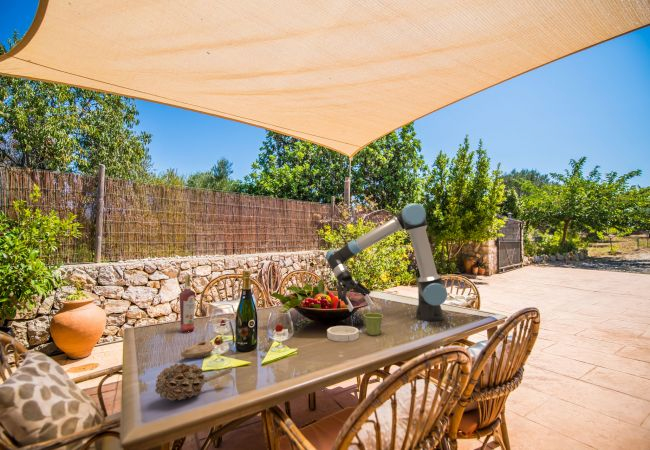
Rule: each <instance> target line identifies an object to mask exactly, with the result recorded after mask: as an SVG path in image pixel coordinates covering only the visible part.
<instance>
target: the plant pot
mask: <svg viewBox="0 0 650 450" xmlns="http://www.w3.org/2000/svg"><path fill="white" fill-rule="evenodd" d="M363 318H364V320H365V328H366V334H367V335H369V336H378V335H380V334H381V327H382V321H383V318H384V315H383V314H381V313H378V312H377V313H376V312H367V313H364V314H363Z"/></svg>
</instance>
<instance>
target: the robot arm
mask: <svg viewBox="0 0 650 450" xmlns="http://www.w3.org/2000/svg"><path fill="white" fill-rule="evenodd" d="M426 217H427V212H426V209H425V208H424V206H423V205H421V204H419V203H415V202H414V203H412V202H411V203H408V204H406V205H405V206H404V207H403V209H401V211H399V212H398V213H396V214H395V215H393V218H391V219H390V220H387V221H386V222H384V223H383V224H381V225H379V226H377V227H375V228H374V229H372V230H371V231H368V232H366V233H365V234H363V235H362V236H360V237H358V238H357V239H355V240H354V239H353V240H351V241H349V242H347V244H345V245H344V246H343V247H341V248H340V249H338V250H336V249H331V250H329V251H328V252H326V254H325V260H326V262H327V264H328V265H329V267H330V269H331V270H332V272H333V274H334V276H335V277H336V280H337V283H336V285H335V286H336V288H337V299H338V300H339V301H341V302H343V303H344V305H345V306H346V307H347V308H348V311H349V312H352V311H353V310H354V306H353V305H352V303H351V301H350V299H349V297H348V296H347V293H348V291H351V290H352V291H355V292H357V293H359V294H360V295H362V296H363V298H364V300H365V301H366V303H367V305H368V306H369V308H370V309H372V307H374V305H375V304H374V302H373V300H372V297H371V296H370V294H371V291H370V290H369V289H368V288H367V287H366V286H365V285H363V284H362V283H361V282H360V281H359V279H356V280H354V279H353V275H352V274H351V272H350V270H349V268H348V267H347V266H346V264H345V263H346V262H347V261H349V260H350V259H353V258H354V257H355V256H356V255H358V254H360V253H361V252H363V251H365V250H367V249H369V248H370V247H371V246H373V245H375V244H378V243H379V242H380V241H382V240H384V239H386V238H388V237H390V236H391V235H393V234H394V233H397V232H398V231H403V230H405V231H406V232H407V233H408V234H409V238H410V241H411V245H412V249H413V252H414V256H415V260H416V263H417V267H418V271H419V277H418V278H417V288H418V289H417V290H418V291H417V293H418V294H417V297H418V304H417V307H416V311H415V318H416V319H418V320H421V321H426V322H427V321H428V322H439V321H443V320H444V317H445V316H444V315H445V314H444V313H443V310H442V306H441V305H442V304H444V302H445V301H446V300H447V298H448V291H447V289H446V287H445V286H444V283H443V282H444V281H443V278H442V276H441V275H440V274H438V271H437V268H436V265H435V264H436V263H435V260H434V256H433V252H432V248H431V244H430V241H429V237H428V233H427V231H426V230H427V228H428V222H427V218H426Z"/></svg>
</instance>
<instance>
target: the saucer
mask: <svg viewBox="0 0 650 450" xmlns="http://www.w3.org/2000/svg"><path fill="white" fill-rule="evenodd" d="M326 336H327V339H328V340H330V341H333V342H339V343H341V342H342V343H347V342H354V341H356V340H358V339H359V337H360V330H359V329H358V328H357V327H354V326H351V325H336V326H331V327H330V326H329V328H327V329H326Z"/></svg>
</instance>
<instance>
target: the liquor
mask: <svg viewBox="0 0 650 450" xmlns="http://www.w3.org/2000/svg"><path fill="white" fill-rule="evenodd" d="M195 304H196V292H195V291H194V290H192V289H191V274H184V290H182V291H181V292H180V293H179V313H180V314H179V317H180V327H179V330H180V331H181V333H183V332H188V331H191V332H193V331H194V329H195V309H196V308H195ZM188 333H189V332H188Z"/></svg>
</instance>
